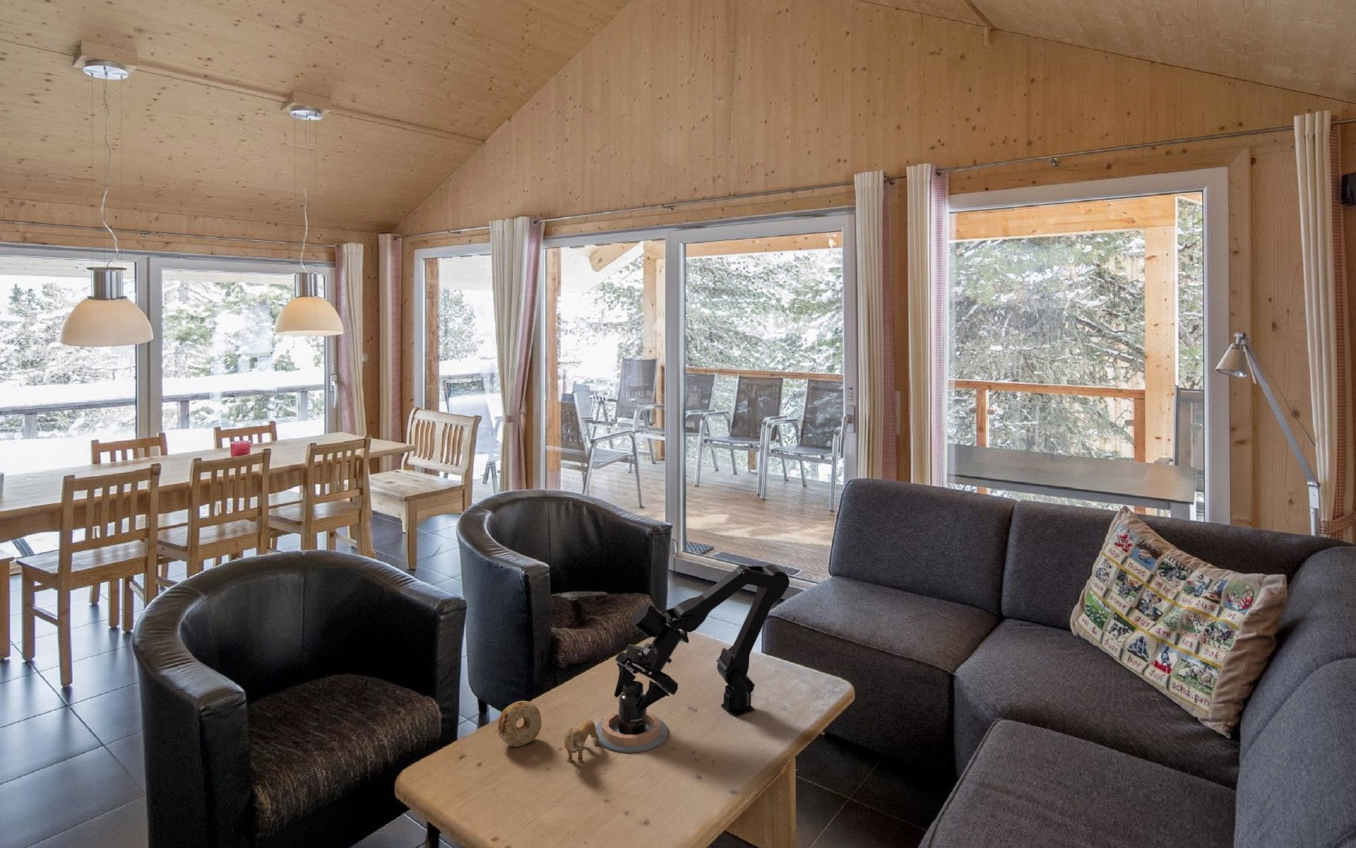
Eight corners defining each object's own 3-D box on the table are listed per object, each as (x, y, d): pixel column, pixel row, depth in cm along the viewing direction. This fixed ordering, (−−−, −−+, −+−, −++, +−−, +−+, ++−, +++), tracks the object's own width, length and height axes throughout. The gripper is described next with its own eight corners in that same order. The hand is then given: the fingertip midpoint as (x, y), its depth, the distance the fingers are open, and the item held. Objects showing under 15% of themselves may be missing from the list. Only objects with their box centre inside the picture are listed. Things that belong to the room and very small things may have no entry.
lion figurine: (582, 773, 179) (582, 735, 178) (559, 769, 180) (559, 732, 179) (602, 739, 193) (602, 704, 192) (581, 737, 195) (581, 702, 193)
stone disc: (502, 753, 187) (502, 712, 185) (497, 746, 190) (496, 706, 188) (544, 741, 192) (543, 701, 191) (538, 734, 195) (537, 695, 194)
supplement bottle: (636, 741, 192) (636, 693, 190) (612, 733, 195) (613, 686, 194) (651, 729, 197) (652, 682, 196) (629, 721, 201) (629, 676, 199)
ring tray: (645, 708, 209) (645, 699, 208) (681, 740, 194) (681, 730, 193) (582, 726, 199) (582, 716, 199) (615, 760, 184) (615, 750, 184)
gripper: (621, 621, 203) (585, 674, 197) (669, 643, 189) (632, 702, 183) (645, 642, 209) (610, 695, 203) (693, 666, 195) (658, 723, 189)
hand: (626, 703), depth 195 cm, fingers open, 9 cm apart
